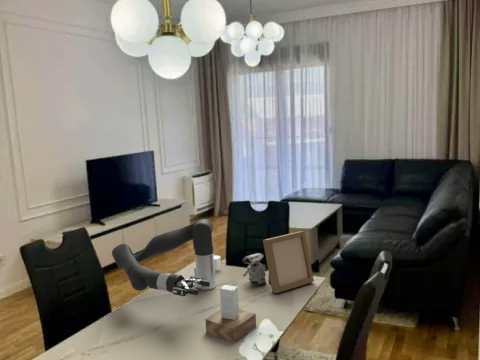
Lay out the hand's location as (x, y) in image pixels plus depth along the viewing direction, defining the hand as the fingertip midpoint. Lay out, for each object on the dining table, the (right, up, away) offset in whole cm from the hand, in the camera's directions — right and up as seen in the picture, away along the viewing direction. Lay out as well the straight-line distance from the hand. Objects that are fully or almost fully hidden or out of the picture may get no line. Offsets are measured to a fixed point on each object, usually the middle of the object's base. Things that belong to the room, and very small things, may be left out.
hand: (203, 288), depth 174 cm
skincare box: (+11, -11, -3) cm, 15 cm away
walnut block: (+11, -16, -2) cm, 20 cm away
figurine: (+22, -9, +42) cm, 48 cm away
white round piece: (+1, -6, +65) cm, 65 cm away
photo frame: (+37, -8, +39) cm, 55 cm away
